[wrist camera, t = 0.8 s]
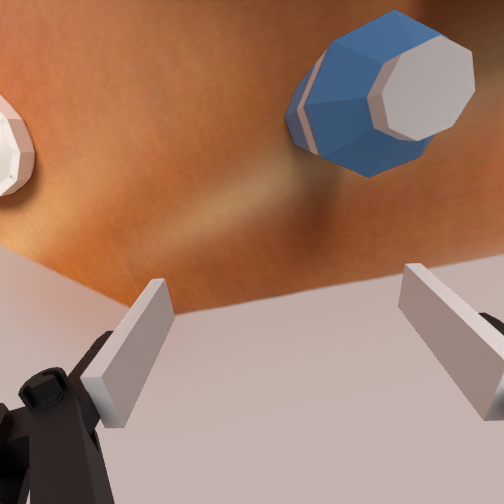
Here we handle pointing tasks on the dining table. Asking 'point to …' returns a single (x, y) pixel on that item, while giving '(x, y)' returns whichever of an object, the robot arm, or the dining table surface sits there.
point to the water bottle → (381, 94)
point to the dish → (14, 150)
